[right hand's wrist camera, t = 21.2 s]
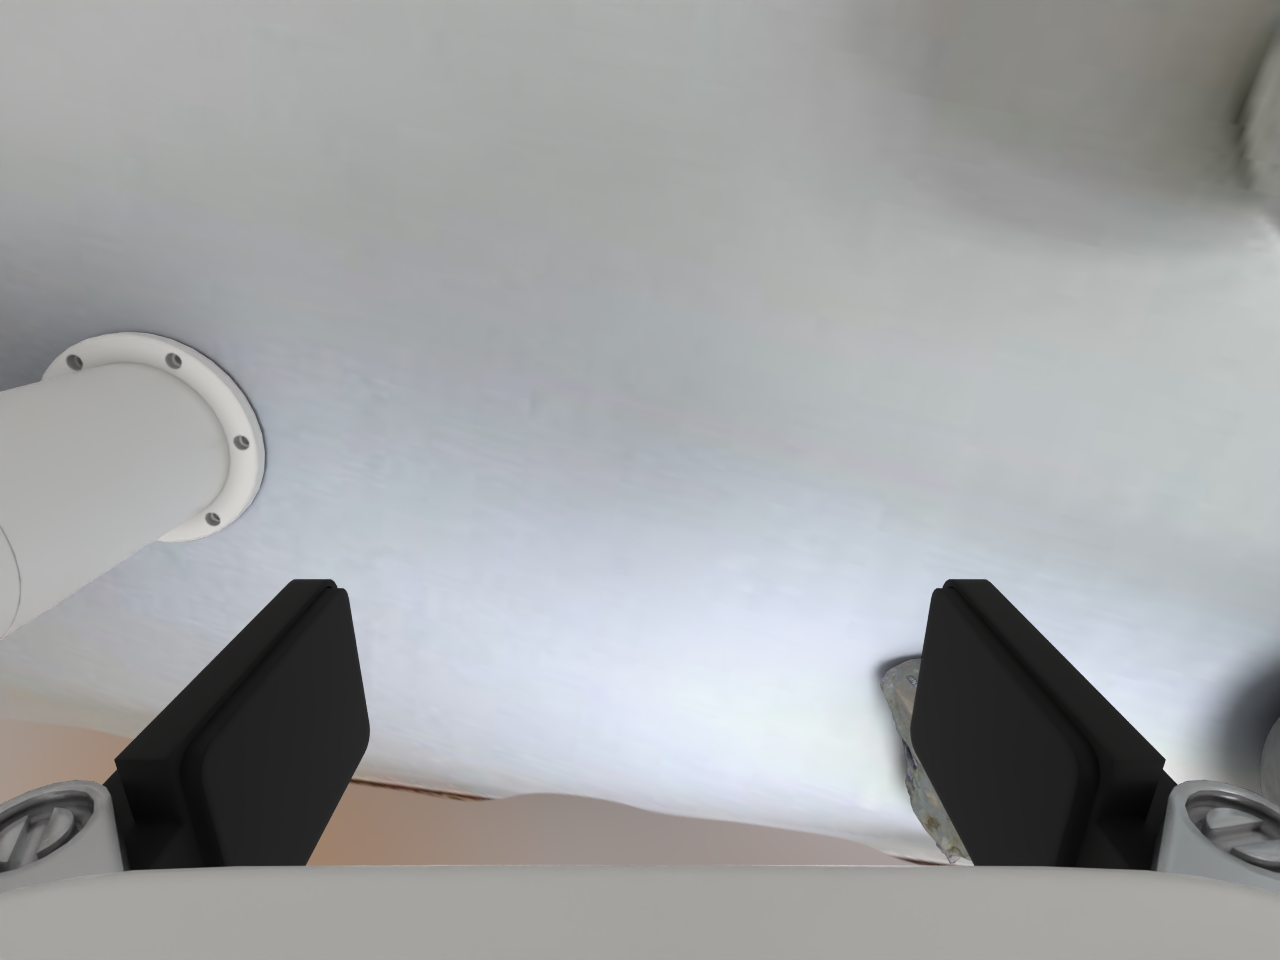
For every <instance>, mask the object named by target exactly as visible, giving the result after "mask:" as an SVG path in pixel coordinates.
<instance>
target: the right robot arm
mask: <svg viewBox="0 0 1280 960" xmlns="http://www.w3.org/2000/svg"><path fill="white" fill-rule="evenodd" d="M180 359H181V360H180ZM246 438H247V439H246ZM247 440H248V441H247ZM264 465H265V449H264V443H263V437H262V432H261V429H260V427H259V424H258V421H257V418H256V416H255V413H254V411H253V410H252V408H251V406H250V404H249V403H248V401H247V399H246V397H245V396H244V394H243V393H242V392H241V390H240V389H239V388H238V387H237V385H236V384H235V383H234V382H233V380H232V379H231V378H230V377H229V376H228V375H227V374H226V373H225V372H224V371H222V370H221V369H220V368H219V367H218V366H217V365H216V364H215V363H214V362H212V361H211V360H209V359H208V358H206V357H205V356H203V355H202V354H200V353H199V352H197V351H196V350H194V349H193V348H190V347H188V346H186V345H184V344H181V343H179V342H177V341H175V340H173V339H169V338H166V337H162V336H158V335H154V334H150V333H140V332H119V333H111V334H105V335H101V336H97V337H92V338H88V339H85V340H83V341H81V342H79V343H77V344H75V345H73V346H71V347H69V348H67V349H66V350H65V351H64V352H63V353H61V354H60V355H59V356H58V357H57V358H55V359H54V360H53V362H52V363H51V365H50V366H49V367H48V369H47V370H46V371H45V373H44V374H43V377H42V379H41V381H40V382H36V383H32V384H28V385H24V386H20V387H16V388H12V389H8V390H4V391H1V392H0V641H1V640H2V639H4V638H5V637H7V636H9V635H10V634H12V633H13V632H15V631H16V630H18V629H19V628H21V627H23V626H24V625H26V624H27V623H29V622H30V621H32V620H33V619H35V618H36V617H38V616H40V615H41V614H43V613H44V612H46V611H47V610H49V609H50V608H52V607H53V606H55V605H57V604H58V603H60V602H61V601H63V600H64V599H66V598H67V597H69V596H70V595H72V594H74V593H75V592H77V591H78V590H80V589H81V588H83V587H84V586H86V585H87V584H89V583H91V582H92V581H94V580H95V579H97V578H98V577H100V576H101V575H103V574H104V573H106V572H108V571H109V570H111V569H112V568H114V567H115V566H117V565H118V564H120V563H121V562H123V561H125V560H126V559H128V558H129V557H131V556H132V555H134V554H135V553H137V552H138V551H140V550H142V549H143V548H145V547H146V546H148V545H149V544H151V543H152V542H154V541H160V542H174V543H175V542H184V541H194V540H197V539H200V538H203V537H207V536H210V535H212V534H214V533H216V532H218V531H219V530H221V529H223V528H225V527H227V526H228V525H229V524H231V523H232V522H233V521H235V520H236V519H237V518H239V517H240V516H241V515H242V514H243V513H244V511H245V510H246V509H247V508H248V507H249V506H250V505H251V504H252V502H253V500H254V498H255V496H256V494H257V492H258V491H259V489H260V485H261V482H262V478H263V474H264ZM369 736H370V725H369V719H368V712H367V706H366V700H365V694H364V688H363V682H362V676H361V670H360V664H359V658H358V652H357V645H356V639H355V633H354V627H353V621H352V615H351V609H350V603H349V597H348V593H347V592H346V590H345V589H343V588H337V585H336V584H335V582H334V581H333V580H331V579H294V580H292V581H291V582H289V583H288V584H287V585H286V586H285V587H284V588H283V589H282V590H281V591H280V592H279V593H278V594H277V596H276V597H275V598H274V599H273V600H272V601H271V602H270V603H269V604H268V605H267V606H266V607H265V608H264V609H263V610H262V611H261V612H260V613H259V614H258V615H257V616H256V617H255V618H254V619H253V620H252V621H251V622H250V623H249V624H248V625H247V626H246V627H245V628H244V629H243V630H242V631H241V632H240V633H239V634H238V635H237V636H236V637H235V638H234V639H233V640H232V641H231V642H230V643H229V644H228V645H227V646H226V647H225V648H224V649H223V650H222V651H221V652H220V653H219V654H218V655H217V656H216V657H215V658H214V659H213V660H212V661H211V662H210V663H209V664H208V665H207V666H206V667H205V668H204V669H203V670H202V671H201V672H200V673H199V674H198V675H197V676H196V677H195V678H194V679H193V680H192V681H191V683H190V684H189V685H188V686H187V687H186V688H185V689H184V690H183V691H182V692H181V693H180V694H179V695H178V696H177V697H176V698H175V699H174V700H173V701H172V702H171V703H170V704H169V705H168V706H167V707H166V708H165V709H164V710H163V711H162V712H161V713H160V714H159V715H158V716H157V717H156V718H155V719H154V720H153V721H152V722H151V723H150V724H149V725H148V726H147V727H146V728H145V729H144V730H143V731H142V732H141V733H140V734H139V735H138V736H137V737H136V738H135V739H134V740H133V741H132V742H131V743H130V744H129V745H128V746H127V747H126V748H125V749H124V750H123V751H122V752H121V753H120V754H119V755H118V756H117V757H116V758H115V763H116V767H117V770H116V771H115V772H114V773H113V774H112V775H111V776H110V778H108V780H107V781H106V782H105V783H104V784H103V785H101V784H99V783H96V782H94V781H83V780H72V781H66V782H59V783H53V784H50V785H47V786H44V787H40V788H37V789H34V790H31V791H28V792H26V793H24V794H21V795H19V796H17V797H15V798H12V799H10V800H8V801H6V802H4V803H2V804H0V960H1280V804H1278V803H1276V802H1274V801H1272V800H1270V799H1268V798H1265V797H1263V796H1261V795H1259V794H1256V793H1254V792H1252V791H1250V790H1246V789H1243V788H1240V787H1237V786H1233V785H1230V784H1227V783H1221V782H1214V781H1208V780H1196V781H1186V782H1184V783H1181V784H1179V785H1177V784H1176V783H1175V782H1174V781H1173V780H1172V778H1171V777H1170V776H1169V775H1168V774H1167V773H1166V772H1165V771H1164V770H1163V767H1164V764H1165V760H1166V759H1165V758H1164V757H1163V756H1162V755H1161V754H1160V753H1159V752H1158V751H1157V750H1156V749H1155V748H1154V747H1153V746H1152V745H1151V744H1150V743H1149V742H1148V741H1147V740H1146V739H1145V738H1144V737H1143V736H1142V735H1141V734H1140V733H1139V732H1138V731H1137V730H1136V729H1135V728H1134V727H1133V726H1132V725H1131V724H1130V723H1129V722H1128V721H1127V720H1126V719H1125V718H1124V717H1123V716H1122V715H1121V714H1120V713H1119V712H1118V711H1117V710H1116V709H1115V708H1114V707H1113V706H1112V705H1111V704H1110V703H1109V702H1108V701H1107V700H1106V699H1105V698H1104V697H1103V696H1102V695H1101V694H1100V693H1099V692H1098V691H1097V690H1096V689H1095V688H1094V687H1093V686H1092V685H1091V684H1090V683H1089V681H1088V680H1087V679H1086V678H1085V677H1084V676H1083V675H1082V674H1081V673H1080V672H1079V671H1078V670H1077V669H1076V668H1075V667H1074V666H1073V665H1072V664H1071V663H1070V662H1069V661H1068V660H1067V659H1066V658H1065V657H1064V656H1063V655H1062V654H1061V653H1060V652H1059V651H1058V650H1057V649H1056V648H1055V647H1054V646H1053V645H1052V644H1051V643H1050V642H1049V641H1048V640H1047V639H1046V638H1045V637H1044V636H1043V635H1042V634H1041V633H1040V632H1039V631H1038V630H1037V629H1036V628H1035V627H1034V626H1033V625H1032V624H1031V623H1030V622H1029V621H1028V620H1027V619H1026V618H1025V617H1024V616H1023V615H1022V614H1021V613H1020V612H1019V611H1018V610H1017V609H1016V608H1015V607H1014V606H1013V605H1012V604H1011V603H1010V602H1009V601H1008V600H1007V599H1006V598H1005V597H1004V596H1003V594H1002V593H1001V592H1000V591H999V590H998V589H997V588H996V587H995V586H994V585H993V584H992V583H991V582H989V581H988V580H986V579H949V580H947V581H946V582H945V584H944V585H943V588H937V589H935V590H934V592H933V593H932V597H931V603H930V609H929V615H928V621H927V627H926V633H925V639H924V645H923V652H922V658H921V664H920V670H919V676H918V682H917V688H916V694H915V700H914V706H913V712H912V719H911V725H910V736H911V742H912V746H913V749H914V751H915V753H916V755H917V757H918V759H919V761H920V763H921V765H922V767H923V768H924V770H925V772H926V774H927V776H928V778H929V780H930V782H931V784H932V786H933V788H934V789H935V791H936V793H937V795H938V797H939V799H940V801H941V803H942V805H943V807H944V809H945V810H946V812H947V814H948V816H949V818H950V820H951V822H952V824H953V826H954V828H955V829H956V831H957V833H958V835H959V837H960V839H961V841H962V843H963V845H964V847H965V849H966V850H967V852H968V854H969V856H970V858H971V860H972V862H973V864H974V866H896V865H893V866H891V865H388V866H387V865H384V866H306V864H307V862H308V860H309V858H310V856H311V854H312V852H313V850H314V849H315V847H316V845H317V843H318V841H319V839H320V837H321V835H322V833H323V831H324V829H325V827H326V826H327V824H328V822H329V820H330V818H331V816H332V814H333V812H334V810H335V809H336V807H337V805H338V803H339V801H340V799H341V797H342V795H343V793H344V791H345V789H346V788H347V785H348V784H349V782H350V780H351V778H352V776H353V774H354V772H355V770H356V768H357V767H358V765H359V763H360V761H361V759H362V757H363V755H364V753H365V751H366V749H367V746H368V742H369Z"/></svg>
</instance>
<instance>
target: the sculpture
mask: <svg viewBox="0 0 1280 960" xmlns="http://www.w3.org/2000/svg"><path fill="white" fill-rule="evenodd" d="M1260 785H1261V791H1262V796H1263V797H1265V798H1268V799H1270V800H1272V801H1274V802H1276V803H1278V804H1280V717H1279V718H1278V719H1277V720H1276V722H1275V723H1274V724H1273V726H1272V728H1271V729H1270V731H1269V733H1268V735H1267V737H1266V740H1265V744H1264V747H1263V751H1262V755H1261V763H1260Z"/></svg>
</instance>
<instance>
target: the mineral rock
mask: <svg viewBox="0 0 1280 960" xmlns="http://www.w3.org/2000/svg"><path fill="white" fill-rule="evenodd" d="M920 664H921V658H917V659H910V660H908V661H905V662H903V663H901V664H899V665H897V666H895V667H893V668H891V669H889V670H887V672H886V674H885V675H884V676H883V678H882V679H881V688H882V690H883V692H884V694H885V696H886V698H887V701H888V704H889V707H890V709H891V711H892V714H893V719H894V721H895V723H896V729H897V731H898V732H899V733H900V735H901V736H902V738H903V744H904V748H905V756H906V761H907V763H908V764H907V768H908V769H907V774H906V780H905V783H906V787H907V789H908V793H909V795H910V799H911V806H912V808H913V811H914V813H915V815H916V816H917V818H918V819H919V821H920V822H921V824H922V825H923V827H924V828H925V830H926V831H927V832H928V834H929V835H930V836H931V837H932V838H933V839H934V840H935V841H936V845H937V847H938V848H939V849H940V850H941V851H942V853H944V854H945V855H946V857H947V859H948V860H949V862H950V864H952V863H955V862H956V861H957V860H958V859H960V857H963V858H965V859H967V860H971V858H970V856H969V854H968V852H967V850H966V849H965V847H964V845H963V843H962V841H961V839H960V837H959V835H958V833H957V831H956V829H955V828H954V826H953V824H952V822H951V820H950V818H949V816H948V814H947V812H946V810H945V809H944V807H943V805H942V803H941V801H940V799H939V797H938V795H937V793H936V791H935V789H934V788H933V786H932V784H931V782H930V780H929V778H928V776H927V774H926V772H925V770H924V768H923V767H922V765H921V763H920V761H919V759H918V757H917V755H916V753H915V751H914V749H913V746H912V742H911V736H910V725H911V719H912V712H913V706H914V700H915V694H916V688H917V682H918V676H919V670H920ZM971 861H972V860H971Z"/></svg>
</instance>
